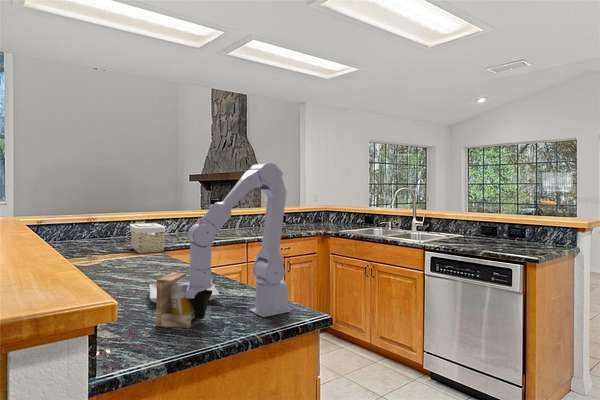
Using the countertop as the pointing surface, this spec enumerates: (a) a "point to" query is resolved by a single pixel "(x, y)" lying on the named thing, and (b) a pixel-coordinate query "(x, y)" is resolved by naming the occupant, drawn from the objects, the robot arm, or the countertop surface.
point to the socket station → (169, 303)
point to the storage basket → (147, 237)
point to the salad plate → (154, 286)
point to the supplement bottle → (181, 300)
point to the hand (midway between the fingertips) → (199, 318)
